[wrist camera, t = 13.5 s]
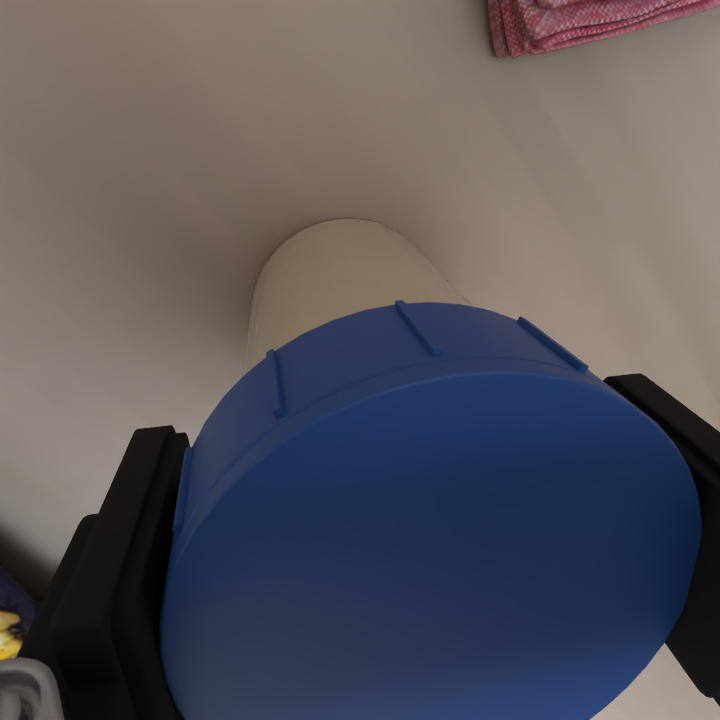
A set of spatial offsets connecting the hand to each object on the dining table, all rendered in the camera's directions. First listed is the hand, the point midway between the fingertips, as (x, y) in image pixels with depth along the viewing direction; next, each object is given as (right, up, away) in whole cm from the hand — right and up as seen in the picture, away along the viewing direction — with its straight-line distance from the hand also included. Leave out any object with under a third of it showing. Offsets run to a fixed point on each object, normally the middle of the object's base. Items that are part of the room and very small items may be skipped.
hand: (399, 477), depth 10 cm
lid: (0, -1, -3) cm, 3 cm away
